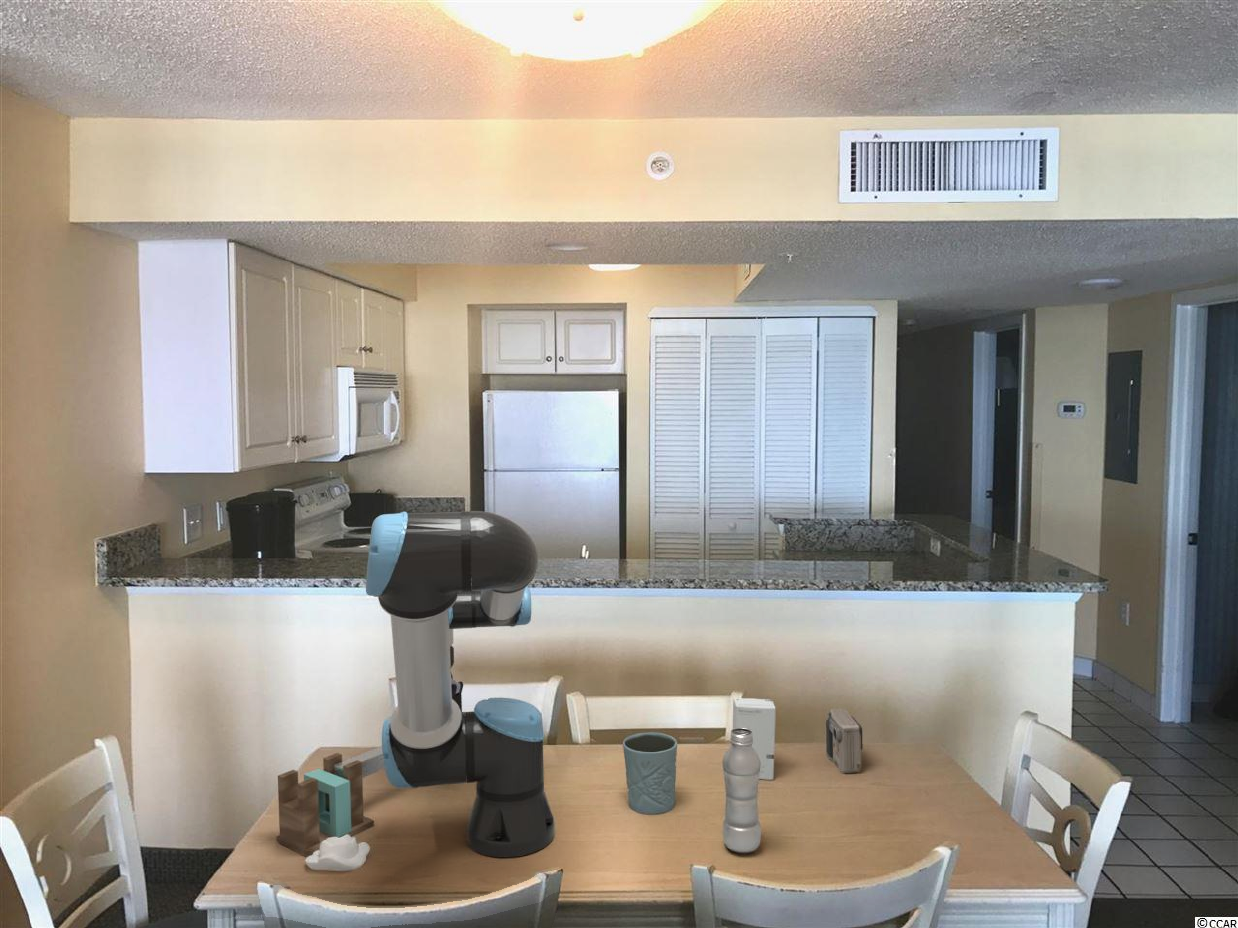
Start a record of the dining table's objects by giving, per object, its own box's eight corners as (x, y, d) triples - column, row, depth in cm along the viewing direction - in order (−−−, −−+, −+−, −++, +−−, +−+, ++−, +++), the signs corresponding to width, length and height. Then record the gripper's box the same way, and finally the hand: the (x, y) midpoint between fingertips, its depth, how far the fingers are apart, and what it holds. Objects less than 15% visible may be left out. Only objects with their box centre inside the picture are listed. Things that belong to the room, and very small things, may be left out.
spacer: (336, 838, 148) (335, 786, 148) (305, 823, 154) (303, 774, 153) (351, 831, 151) (349, 780, 150) (320, 817, 156) (318, 768, 156)
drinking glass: (679, 816, 157) (679, 751, 157) (623, 817, 157) (623, 752, 157) (675, 791, 168) (675, 731, 167) (623, 792, 168) (622, 731, 167)
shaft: (348, 792, 153) (347, 764, 152) (331, 785, 156) (330, 757, 155) (454, 746, 173) (453, 722, 172) (436, 741, 176) (436, 717, 175)
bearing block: (307, 857, 144) (305, 787, 143) (276, 842, 149) (274, 774, 148) (374, 825, 155) (372, 760, 154) (342, 812, 160) (341, 748, 159)
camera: (823, 752, 186) (824, 707, 185) (850, 752, 186) (851, 706, 185) (836, 775, 175) (837, 726, 174) (865, 775, 175) (866, 726, 174)
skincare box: (733, 779, 173) (733, 706, 172) (731, 767, 179) (731, 696, 178) (775, 780, 172) (776, 707, 171) (772, 767, 178) (772, 697, 177)
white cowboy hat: (315, 857, 136) (297, 833, 144) (316, 884, 136) (298, 859, 144) (377, 838, 142) (356, 816, 150) (377, 864, 142) (357, 841, 150)
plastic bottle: (732, 860, 142) (732, 741, 141) (716, 841, 148) (715, 726, 147) (768, 854, 144) (768, 736, 142) (750, 835, 150) (750, 722, 149)
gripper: (480, 649, 169) (482, 766, 170) (418, 635, 179) (420, 745, 181) (452, 658, 163) (454, 779, 164) (389, 643, 173) (392, 757, 175)
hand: (436, 761), depth 172 cm, fingers closed on shaft, 5 cm apart
